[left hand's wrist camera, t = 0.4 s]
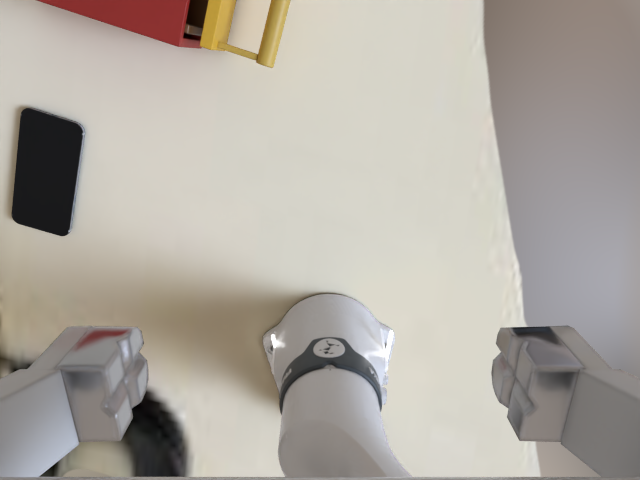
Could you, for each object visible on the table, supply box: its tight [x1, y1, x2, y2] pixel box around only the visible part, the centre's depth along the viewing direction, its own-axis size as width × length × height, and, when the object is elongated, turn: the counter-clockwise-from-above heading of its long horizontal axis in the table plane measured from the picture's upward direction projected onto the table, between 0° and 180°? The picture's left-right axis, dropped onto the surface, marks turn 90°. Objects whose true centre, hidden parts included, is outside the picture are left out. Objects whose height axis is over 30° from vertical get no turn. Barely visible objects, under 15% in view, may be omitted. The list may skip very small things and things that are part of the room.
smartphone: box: [12, 108, 85, 236], centre depth 56 cm, size 7×1×15 cm
